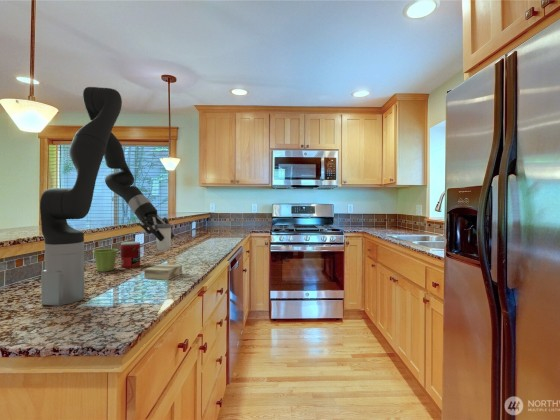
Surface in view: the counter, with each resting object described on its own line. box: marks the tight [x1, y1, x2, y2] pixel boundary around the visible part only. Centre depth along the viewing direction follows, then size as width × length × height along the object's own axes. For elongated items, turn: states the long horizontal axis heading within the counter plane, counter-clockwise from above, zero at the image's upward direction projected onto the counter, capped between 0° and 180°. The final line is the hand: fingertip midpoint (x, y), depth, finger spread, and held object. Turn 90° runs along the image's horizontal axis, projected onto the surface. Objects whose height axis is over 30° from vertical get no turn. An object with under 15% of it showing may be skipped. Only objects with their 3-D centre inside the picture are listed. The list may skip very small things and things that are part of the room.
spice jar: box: [155, 223, 172, 251], centre depth 112 cm, size 6×6×10 cm
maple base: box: [143, 263, 183, 281], centre depth 113 cm, size 10×10×4 cm
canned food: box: [120, 241, 141, 269], centre depth 129 cm, size 8×8×11 cm
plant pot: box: [91, 248, 119, 273], centre depth 121 cm, size 9×9×9 cm
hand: (167, 238), depth 112 cm, fingers closed on spice jar, 5 cm apart
